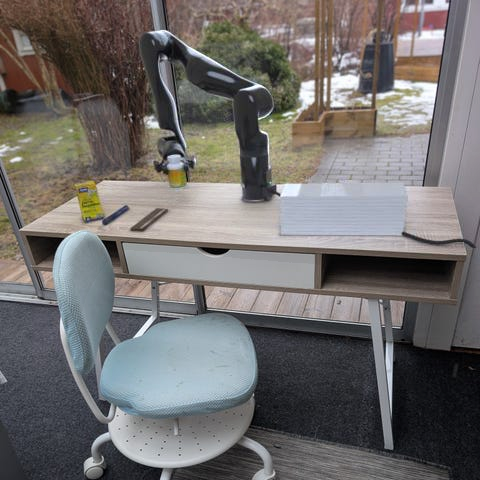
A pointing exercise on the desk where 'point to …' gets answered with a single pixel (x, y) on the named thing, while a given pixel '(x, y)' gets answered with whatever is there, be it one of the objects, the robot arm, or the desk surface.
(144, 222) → the dark brown flat bar
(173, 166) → the supplement bottle
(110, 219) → the pen
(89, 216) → the supplement box
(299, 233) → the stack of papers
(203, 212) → the desk surface
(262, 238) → the desk surface
